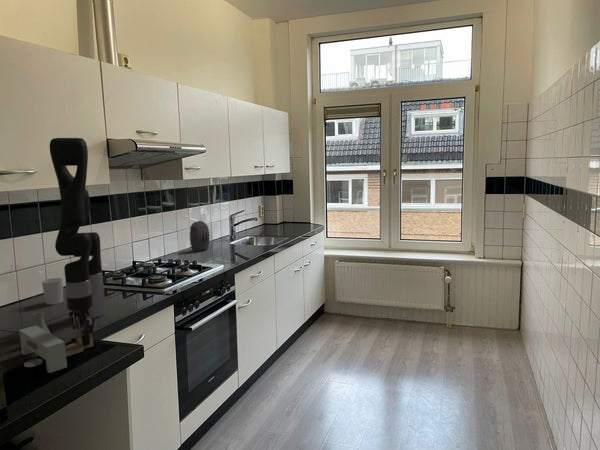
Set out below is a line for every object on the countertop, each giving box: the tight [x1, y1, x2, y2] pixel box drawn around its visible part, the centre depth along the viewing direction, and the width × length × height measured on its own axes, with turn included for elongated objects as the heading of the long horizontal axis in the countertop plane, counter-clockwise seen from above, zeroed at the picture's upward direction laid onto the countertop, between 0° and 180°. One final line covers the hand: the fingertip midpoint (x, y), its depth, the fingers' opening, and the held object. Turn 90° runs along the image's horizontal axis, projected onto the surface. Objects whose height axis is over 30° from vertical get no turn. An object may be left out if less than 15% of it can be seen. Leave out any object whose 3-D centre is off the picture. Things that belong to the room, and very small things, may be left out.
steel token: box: [23, 358, 44, 368], centre depth 142 cm, size 5×5×1 cm
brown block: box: [65, 325, 94, 358], centre depth 150 cm, size 6×12×7 cm, turn 140°
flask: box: [32, 311, 52, 334], centre depth 159 cm, size 7×7×10 cm
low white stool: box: [18, 325, 68, 374], centre depth 144 cm, size 22×6×8 cm, turn 49°
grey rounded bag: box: [189, 220, 210, 252], centre depth 304 cm, size 15×8×20 cm, turn 150°
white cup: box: [41, 277, 64, 306], centre depth 202 cm, size 8×8×10 cm
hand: (84, 343), depth 154 cm, fingers closed on brown block, 3 cm apart
